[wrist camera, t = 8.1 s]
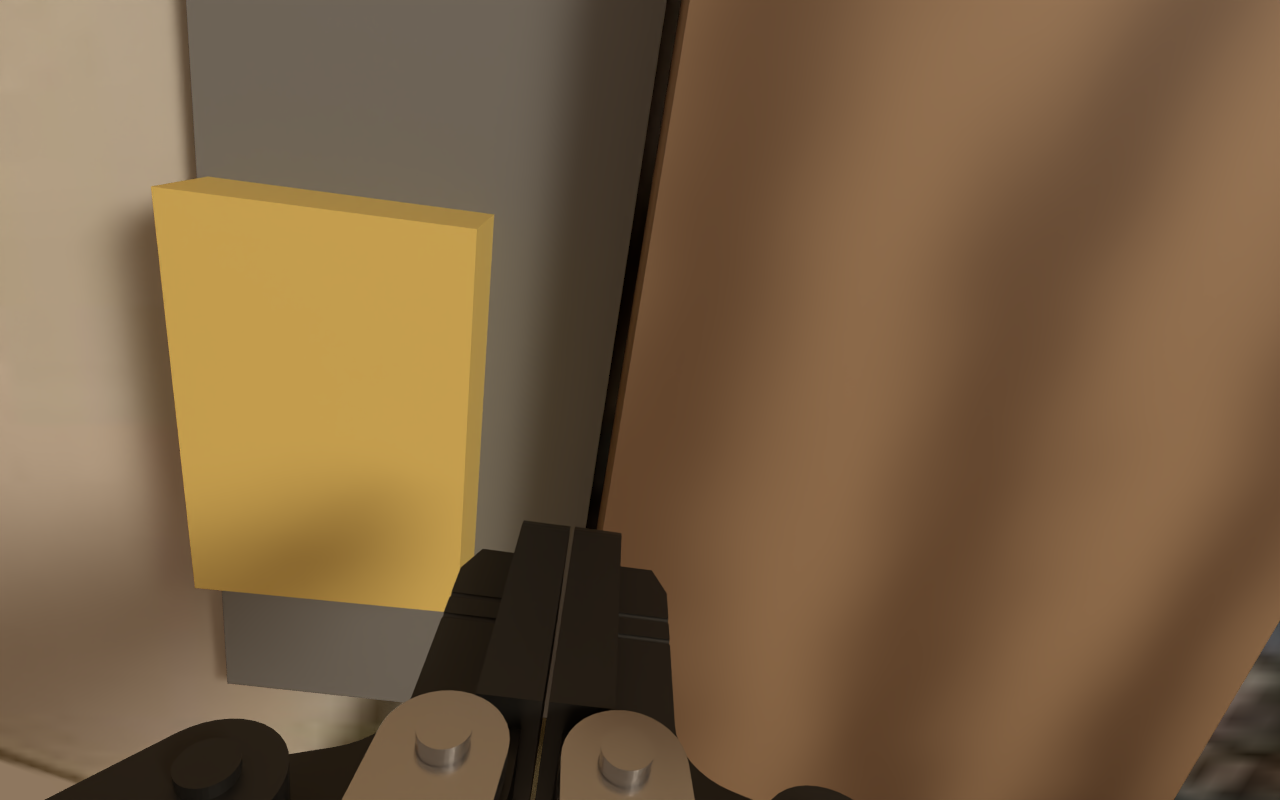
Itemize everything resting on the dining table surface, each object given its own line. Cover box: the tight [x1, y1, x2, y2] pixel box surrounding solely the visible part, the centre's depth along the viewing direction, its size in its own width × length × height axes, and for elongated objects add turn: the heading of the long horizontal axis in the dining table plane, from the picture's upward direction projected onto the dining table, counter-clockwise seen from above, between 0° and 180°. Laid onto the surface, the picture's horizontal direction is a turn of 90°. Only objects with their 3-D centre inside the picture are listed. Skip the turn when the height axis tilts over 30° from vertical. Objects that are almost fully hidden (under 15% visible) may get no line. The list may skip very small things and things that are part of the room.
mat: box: [186, 0, 667, 718], centre depth 17 cm, size 9×20×1 cm, turn 171°
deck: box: [596, 0, 1280, 800], centre depth 17 cm, size 16×20×3 cm
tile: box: [151, 177, 494, 612], centre depth 16 cm, size 6×9×2 cm, turn 172°
